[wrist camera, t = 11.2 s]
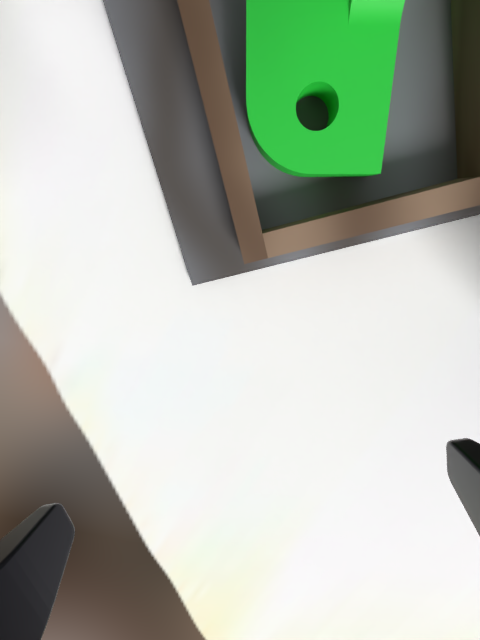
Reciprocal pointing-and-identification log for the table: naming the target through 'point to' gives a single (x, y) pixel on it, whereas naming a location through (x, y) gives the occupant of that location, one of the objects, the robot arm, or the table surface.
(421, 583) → the table surface
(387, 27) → the mechanical part
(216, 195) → the seat
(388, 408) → the table surface
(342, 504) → the table surface
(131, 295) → the table surface
